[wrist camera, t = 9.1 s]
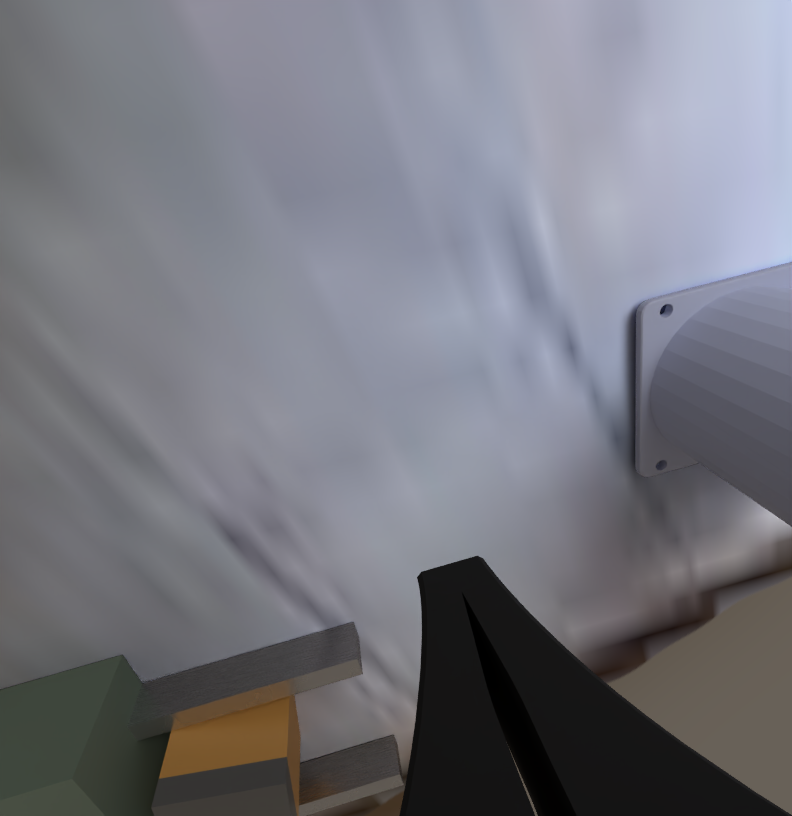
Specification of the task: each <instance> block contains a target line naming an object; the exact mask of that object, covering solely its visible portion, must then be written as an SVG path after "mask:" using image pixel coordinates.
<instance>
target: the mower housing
mask: <svg viewBox="0 0 792 816" xmlns="http://www.w3.org/2000/svg"><path fill="white" fill-rule="evenodd" d="M361 674H363V672H362V662H361V653H360V644H359V636H358V633H357V630H356V628H355V625H354V622H352V623H348V624H345V625H342V626H338V627H335V628H331V629H328V630H324V631H321V632H318V633H314V634H311V635H307V636H304V637H300V638H297V639H294V640H290V641H287V642H283V643H280V644H276V645H273V646H270V647H266V648H263V649H259V650H256V651H252V652H249V653H246V654H242V655H239V656H235V657H232V658H228V659H225V660H222V661H218V662H215V663H211V664H208V665H204V666H201V667H198V668H194V669H191V670H187V671H184V672H180V673H177V674H174V675H170V676H167V677H163V678H160V679H156V680H153V681H150V682H146V683H143V684H142V683H141V681H140V680H139V678H138V677H137V675H136V674H135V673H134V671H133V670H132V668H131V667H130V665H129V664H128V662H127V661H126V659H125V658H124V656H123V655H120V656H117V657H113V658H110V659H106V660H103V661H99V662H96V663H92V664H89V665H85V666H82V667H78V668H75V669H71V670H68V671H64V672H61V673H58V674H54V675H51V676H47V677H44V678H40V679H37V680H33V681H30V682H26V683H23V684H19V685H16V686H12V687H9V688H5V689H2V690H0V816H154V814H153V811H152V809H151V806H152V803H153V799H154V795H155V791H156V787H157V783H158V780H159V776H160V772H161V768H162V764H163V761H164V757H165V753H166V749H167V745H168V741H169V738H170V734H171V731H173V730H176V729H179V728H183V727H186V726H190V725H193V724H196V723H200V722H203V721H206V720H210V719H213V718H216V717H220V716H223V715H226V714H230V713H233V712H236V711H240V710H243V709H247V708H250V707H253V706H257V705H260V704H263V703H267V702H270V701H273V700H277V699H280V698H283V697H287V696H290V695H293V694H297V693H300V692H304V691H307V690H310V689H314V688H317V687H320V686H324V685H327V684H330V683H334V682H337V681H340V680H344V679H347V678H350V677H354V676H357V675H361ZM402 785H404V783H403V777H402V771H401V764H400V758H399V752H398V745H397V743H396V740H395V737H394V735H392V736H388V737H385V738H382V739H379V740H375V741H372V742H369V743H366V744H362V745H359V746H356V747H353V748H349V749H346V750H343V751H340V752H336V753H333V754H330V755H327V756H323V757H320V758H317V759H313V760H310V761H307V762H304V763H300V779H299V816H306V815H309V814H313V813H316V812H319V811H322V810H325V809H329V808H332V807H335V806H338V805H341V804H345V803H348V802H351V801H354V800H357V799H360V798H364V797H367V796H370V795H373V794H376V793H380V792H383V791H386V790H389V789H392V788H396V787H399V786H402Z"/></svg>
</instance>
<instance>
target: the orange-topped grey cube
mask: <svg viewBox="0 0 792 816" xmlns="http://www.w3.org/2000/svg"><path fill="white" fill-rule="evenodd" d="M299 779H300V731H299V724H298V717H297V710H296V704H295V697H294V694H293V695H290V696H287V697H283V698H280V699H277V700H273V701H270V702H267V703H263V704H260V705H257V706H253V707H250V708H247V709H243V710H240V711H236V712H233V713H230V714H226V715H223V716H220V717H216V718H213V719H210V720H206V721H203V722H200V723H196V724H193V725H190V726H186V727H183V728H179V729H176V730H173V731H171V734H170V738H169V741H168V745H167V749H166V753H165V757H164V761H163V764H162V768H161V772H160V776H159V780H158V783H157V787H156V791H155V795H154V799H153V803H152V806H151V809H152V811H153V814H154V816H299Z"/></svg>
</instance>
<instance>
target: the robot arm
mask: <svg viewBox="0 0 792 816" xmlns="http://www.w3.org/2000/svg"><path fill="white" fill-rule="evenodd" d="M664 305H666V309H665V311H664V313H663V314H661V315H660V310H661V308H662V307H663V306H664ZM659 461H661V462H660V463H659V464H658V465H657V463H658V462H659ZM698 463H700V464H702V465H703V466H705V467H706V468H707V469H709V470H710V471H712V472H713V473H715V474H716V475H718V476H719V477H720V478H722V479H723V480H725V481H726V482H728V483H729V484H731V485H732V486H734V487H735V488H736V489H738V490H739V491H741V492H742V493H744V494H745V495H747V496H748V497H749V498H751V499H752V500H754V501H755V502H757V503H758V504H760V505H761V506H762V507H764V508H765V509H767V510H768V511H770V512H771V513H773V514H774V515H775V516H777V517H778V518H780V519H781V520H783V521H784V522H786V523H787V524H789V525H790V526H791V527H792V262H789V263H785V264H782V265H778V266H774V267H770V268H766V269H762V270H759V271H755V272H751V273H747V274H743V275H739V276H736V277H732V278H728V279H724V280H720V281H716V282H713V283H709V284H705V285H701V286H697V287H693V288H690V289H686V290H682V291H678V292H674V293H670V294H667V295H663V296H659V297H655V298H651V299H648V300H646V301H644V302H643V303H642V304H640V306H639V307H638V309H637V313H636V433H635V468H636V471H637V472H638V473H639V474H640V475H642V476H643V477H652V476H655V475H659V474H662V473H666V472H669V471H673V470H676V469H680V468H683V467H687V466H690V465H694V464H698ZM417 579H418V583H419V588H420V596H421V608H422V647H421V670H420V682H419V692H418V702H417V712H416V721H415V729H414V736H413V743H412V750H411V756H410V762H409V768H408V774H407V780H406V786H405V791H404V796H403V801H402V806H401V811H400V816H535V815H534V812H533V809H532V807H531V804H530V801H529V799H528V796H527V794H526V791H525V789H524V786H523V783H522V781H521V778H520V776H519V773H518V771H517V768H516V766H515V763H514V760H515V762H516V765H517V767H518V769H519V772H520V774H521V776H522V778H523V781H524V783H525V785H526V787H527V790H528V792H529V795H530V797H531V799H532V802H533V804H534V807H535V809H536V812H537V814H538V816H792V815H791V814H789V813H788V812H786V811H784V810H783V809H781V808H780V807H778V806H776V805H775V804H773V803H772V802H770V801H769V800H767V799H765V798H764V797H762V796H761V795H759V794H757V793H756V792H754V791H753V790H751V789H750V788H748V787H747V786H746V785H744V784H743V783H741V782H740V781H738V780H737V779H735V778H734V777H732V776H731V775H729V774H728V773H727V772H725V771H723V770H722V769H721V768H719V767H718V766H716V765H715V764H713V763H712V762H710V761H709V760H707V759H706V758H705V757H703V756H701V755H700V754H698V753H697V752H696V751H694V750H693V749H691V748H690V747H688V746H687V745H685V744H684V743H683V742H681V741H680V740H678V739H677V738H676V737H674V736H673V735H672V734H670V733H669V732H668V731H666V730H665V729H664V728H662V727H661V726H660V725H658V724H657V723H655V722H654V721H653V720H652V719H650V718H649V717H648V716H646V715H645V714H644V713H642V712H641V711H640V710H639V709H637V708H636V707H635V706H633V705H632V704H631V703H630V702H628V701H627V700H626V699H625V698H623V697H622V696H621V695H619V694H618V693H617V692H616V691H615V690H613V689H612V688H611V687H610V686H609V685H607V684H606V683H605V682H604V681H603V680H602V679H600V678H599V677H598V676H597V675H596V674H594V673H593V672H592V671H591V670H590V669H589V668H588V667H586V666H585V665H584V664H583V663H582V662H581V661H580V660H579V659H577V658H576V657H575V656H574V655H573V654H572V653H571V652H570V651H569V650H567V649H566V648H565V647H564V646H563V645H562V644H561V643H560V642H559V641H558V640H557V639H556V638H555V637H554V636H553V635H552V634H551V633H550V632H549V631H548V630H547V629H546V628H545V627H544V626H542V625H541V624H540V623H539V622H538V621H537V620H536V619H535V618H534V617H533V616H532V615H531V614H530V613H529V612H528V610H527V609H526V608H525V607H524V606H523V605H522V604H521V603H520V602H519V601H518V600H517V599H516V598H515V597H514V595H513V594H512V593H511V592H510V591H509V590H508V589H507V588H506V587H505V585H504V584H503V583H502V582H501V581H500V580H499V578H498V577H497V576H496V575H495V574H494V572H493V571H492V570H491V568H490V567H489V566H488V565H487V563H486V562H485V560H484V559H483V558H481V557H479V556H475V557H471V558H468V559H465V560H461V561H458V562H454V563H451V564H447V565H444V566H440V567H437V568H433V569H430V570H426V571H423V572H421V573H420V574H419V576H418V577H417ZM506 741H507V742H506ZM507 744H508V745H507ZM508 746H509V747H508ZM509 748H510V750H509ZM510 751H511V753H512V755H513V758H514V760H513V758H512V755H511V753H510Z"/></svg>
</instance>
